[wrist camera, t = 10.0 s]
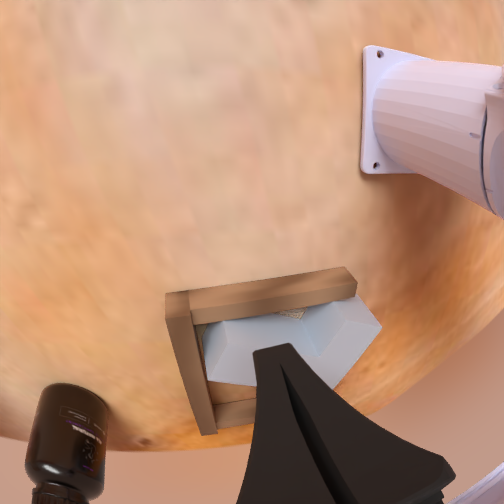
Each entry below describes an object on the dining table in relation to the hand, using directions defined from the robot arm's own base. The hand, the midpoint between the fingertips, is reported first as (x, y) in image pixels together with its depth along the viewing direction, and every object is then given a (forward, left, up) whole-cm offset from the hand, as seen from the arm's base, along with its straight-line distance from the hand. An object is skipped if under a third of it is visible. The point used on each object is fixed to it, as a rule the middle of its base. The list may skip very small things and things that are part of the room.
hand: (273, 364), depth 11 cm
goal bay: (-1, +10, -9) cm, 14 cm away
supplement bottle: (+16, +14, -10) cm, 23 cm away
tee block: (-3, +8, -10) cm, 13 cm away
